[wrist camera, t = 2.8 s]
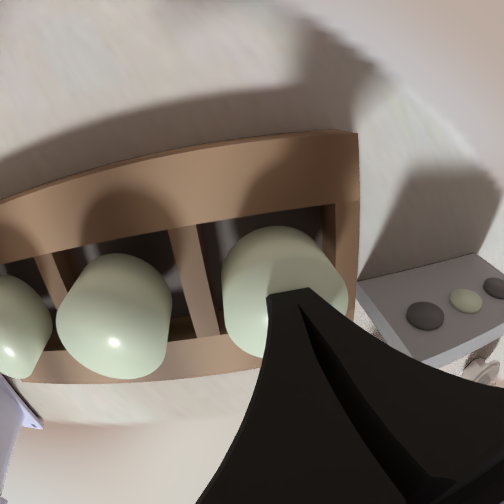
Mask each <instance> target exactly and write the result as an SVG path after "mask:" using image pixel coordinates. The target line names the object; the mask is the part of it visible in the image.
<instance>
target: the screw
mask: <svg viewBox="0 0 504 504" xmlns="http://www.w3.org/2000/svg"><path fill="white" fill-rule="evenodd" d="M499 366H500V363H499V362H498V360H493V361H491V362H489V363H485V361H484V360H483V359H482V358H478V359H474V360H473V361H472V362H471V363H470V364H469V365H468V366H467V367H466V368H465V369H464V371H463V374H462V377H461V378H464V379H468V380H471V381H474V382H478V383H481V384H485V385H490V386H495V385H496V383H495V384H494V383H493V382H492V381H493V380H494V379H495V377H496V376H497V374H498V372H499ZM495 387H496V386H495Z"/></svg>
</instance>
